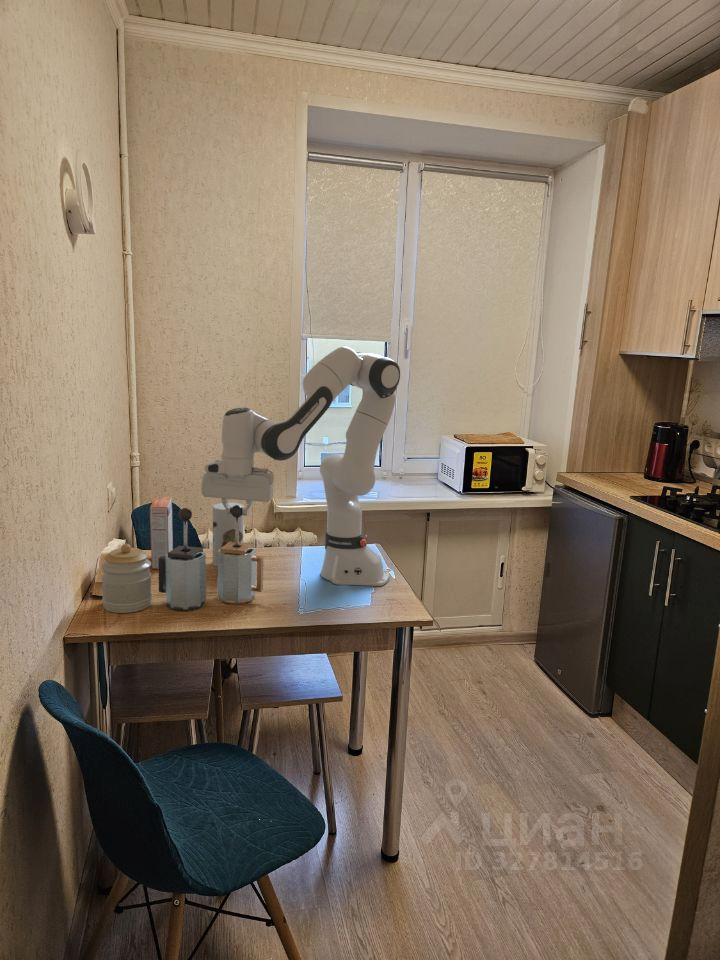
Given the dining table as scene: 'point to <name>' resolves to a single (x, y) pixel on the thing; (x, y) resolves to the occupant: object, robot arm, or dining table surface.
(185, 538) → the black plunger
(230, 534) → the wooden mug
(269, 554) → the dining table surface
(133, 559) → the jar
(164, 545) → the cracker box
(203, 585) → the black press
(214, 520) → the container
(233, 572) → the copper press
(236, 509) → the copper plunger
